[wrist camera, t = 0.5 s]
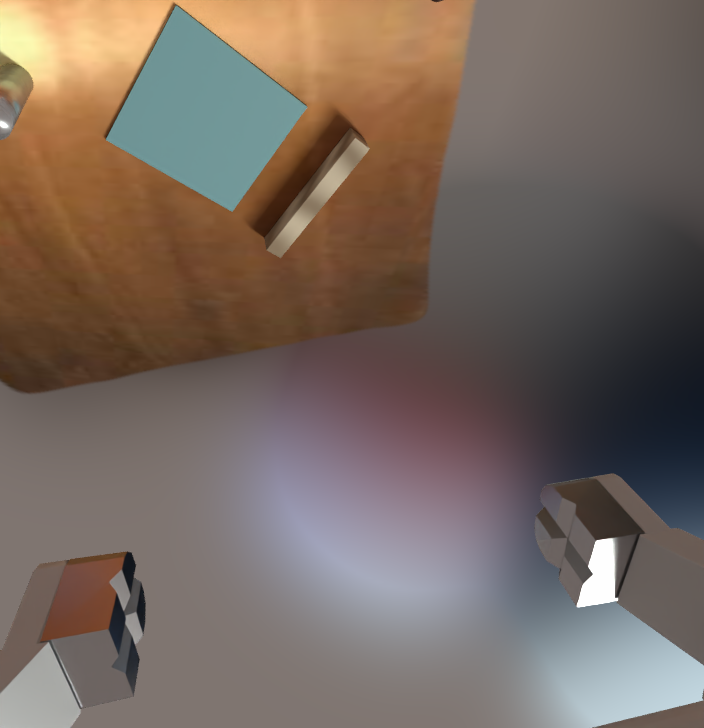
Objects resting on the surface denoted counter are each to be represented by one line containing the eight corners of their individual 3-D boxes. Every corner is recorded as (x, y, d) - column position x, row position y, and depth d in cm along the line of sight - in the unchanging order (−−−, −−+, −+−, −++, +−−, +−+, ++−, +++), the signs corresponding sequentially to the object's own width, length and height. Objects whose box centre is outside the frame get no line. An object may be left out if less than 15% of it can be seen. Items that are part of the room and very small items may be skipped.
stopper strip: (350, 127, 56) (355, 137, 54) (364, 138, 57) (369, 149, 55) (264, 237, 63) (266, 250, 61) (278, 245, 64) (280, 257, 62)
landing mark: (176, 4, 45) (176, 5, 45) (306, 106, 53) (307, 107, 53) (105, 138, 51) (105, 139, 51) (232, 210, 60) (232, 211, 59)
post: (4, 56, 45) (-24, 97, 39) (37, 76, 46) (16, 119, 40) (-6, 83, 46) (-34, 126, 40) (27, 101, 48) (4, 146, 42)
